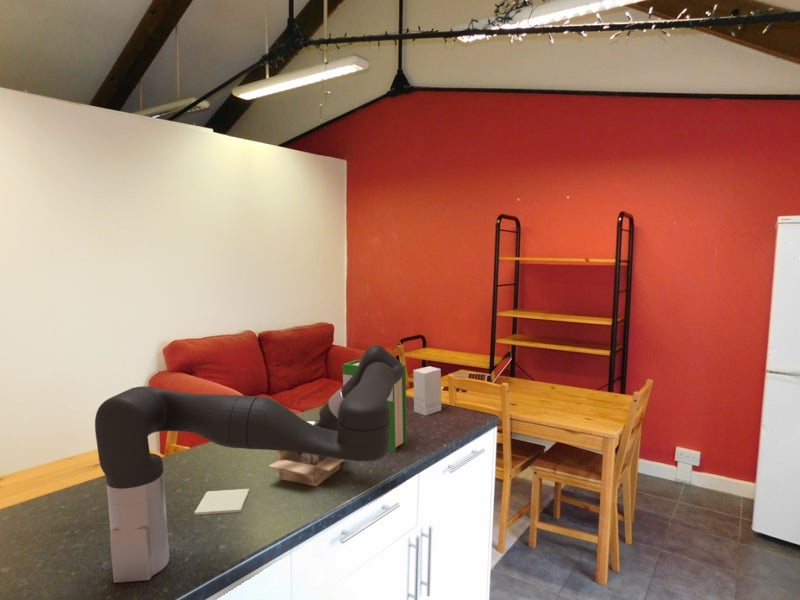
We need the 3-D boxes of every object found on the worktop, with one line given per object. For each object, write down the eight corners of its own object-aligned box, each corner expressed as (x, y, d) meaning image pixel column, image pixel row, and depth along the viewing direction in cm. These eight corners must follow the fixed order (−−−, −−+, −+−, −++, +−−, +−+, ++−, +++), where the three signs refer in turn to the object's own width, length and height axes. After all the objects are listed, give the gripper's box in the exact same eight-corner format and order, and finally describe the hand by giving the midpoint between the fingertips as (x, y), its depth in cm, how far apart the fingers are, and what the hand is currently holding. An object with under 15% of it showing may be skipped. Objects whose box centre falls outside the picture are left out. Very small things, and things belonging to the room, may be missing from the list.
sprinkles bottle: (322, 474, 131) (320, 424, 130) (305, 478, 129) (303, 427, 128) (315, 468, 135) (313, 419, 134) (298, 472, 133) (296, 422, 131)
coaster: (240, 512, 113) (240, 509, 113) (194, 515, 112) (194, 512, 112) (249, 491, 123) (249, 488, 123) (207, 493, 122) (207, 491, 122)
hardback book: (407, 443, 151) (405, 365, 149) (393, 452, 145) (392, 370, 142) (359, 433, 160) (357, 359, 158) (344, 441, 154) (342, 364, 152)
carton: (360, 464, 137) (359, 421, 136) (320, 496, 119) (319, 447, 118) (313, 456, 143) (311, 415, 142) (269, 485, 126) (267, 438, 124)
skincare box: (430, 407, 186) (429, 365, 185) (442, 411, 181) (442, 368, 180) (413, 412, 181) (412, 369, 180) (425, 416, 176) (424, 372, 174)
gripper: (335, 429, 119) (295, 470, 125) (364, 411, 132) (327, 449, 138) (316, 404, 120) (277, 446, 127) (346, 389, 133) (310, 428, 139)
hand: (303, 447), depth 132 cm, fingers closed on sprinkles bottle, 4 cm apart
